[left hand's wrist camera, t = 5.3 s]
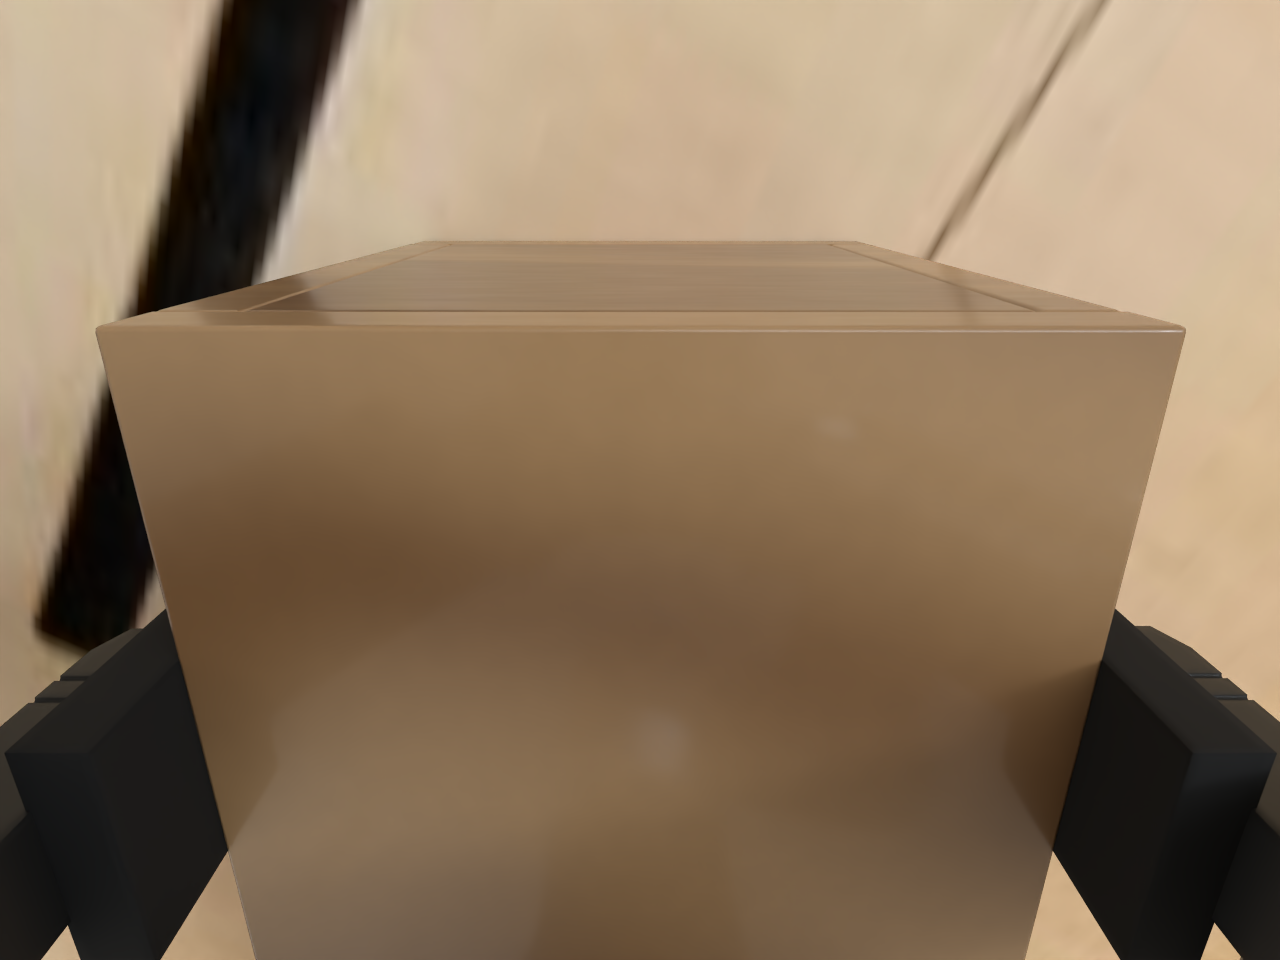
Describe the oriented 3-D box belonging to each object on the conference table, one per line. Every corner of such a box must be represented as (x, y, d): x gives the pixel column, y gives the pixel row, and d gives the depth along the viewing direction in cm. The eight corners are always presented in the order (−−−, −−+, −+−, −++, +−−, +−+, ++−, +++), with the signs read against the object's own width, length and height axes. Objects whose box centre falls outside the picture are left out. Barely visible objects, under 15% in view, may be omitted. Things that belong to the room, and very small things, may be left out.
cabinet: (794, 897, 24) (908, 1419, 14) (484, 897, 24) (372, 1421, 14) (859, 241, 17) (1190, 326, 7) (420, 240, 17) (90, 326, 7)
